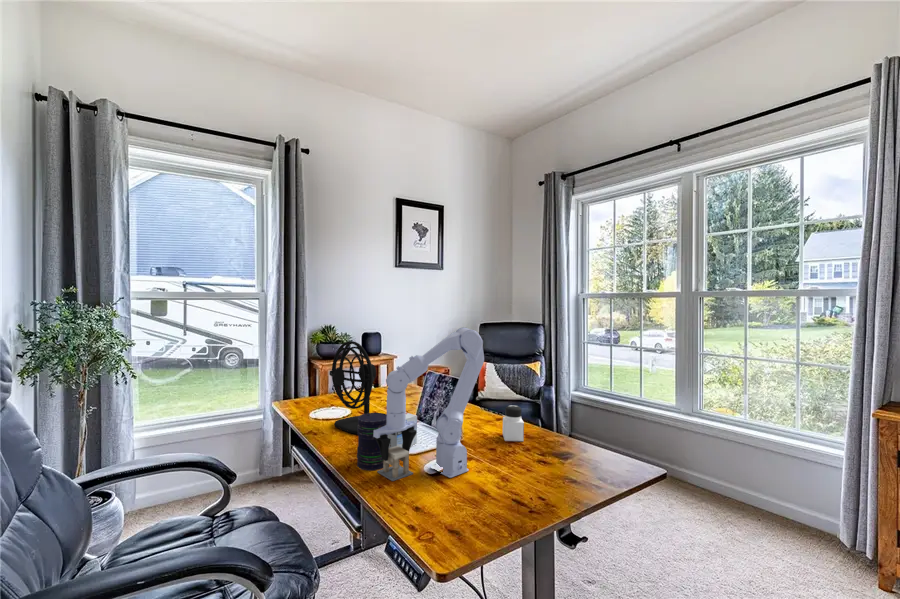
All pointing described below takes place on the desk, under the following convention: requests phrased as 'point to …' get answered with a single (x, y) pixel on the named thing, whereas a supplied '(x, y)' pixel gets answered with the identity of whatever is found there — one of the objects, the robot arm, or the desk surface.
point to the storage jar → (369, 441)
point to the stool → (397, 460)
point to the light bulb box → (397, 437)
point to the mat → (389, 474)
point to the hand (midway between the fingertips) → (395, 456)
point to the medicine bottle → (513, 424)
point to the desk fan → (367, 377)
